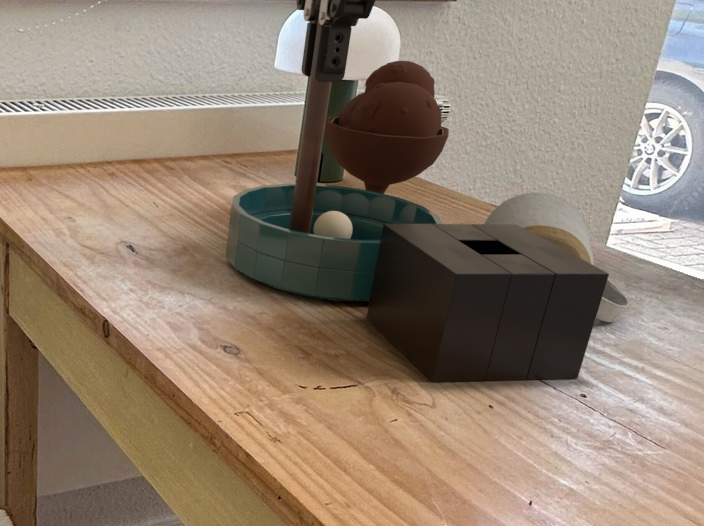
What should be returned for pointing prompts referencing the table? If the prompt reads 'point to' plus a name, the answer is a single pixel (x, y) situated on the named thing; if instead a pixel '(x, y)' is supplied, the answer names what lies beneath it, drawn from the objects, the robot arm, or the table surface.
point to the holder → (484, 301)
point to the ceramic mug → (559, 236)
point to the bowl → (314, 239)
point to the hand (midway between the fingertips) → (321, 77)
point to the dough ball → (333, 225)
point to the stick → (310, 152)
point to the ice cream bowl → (389, 127)
